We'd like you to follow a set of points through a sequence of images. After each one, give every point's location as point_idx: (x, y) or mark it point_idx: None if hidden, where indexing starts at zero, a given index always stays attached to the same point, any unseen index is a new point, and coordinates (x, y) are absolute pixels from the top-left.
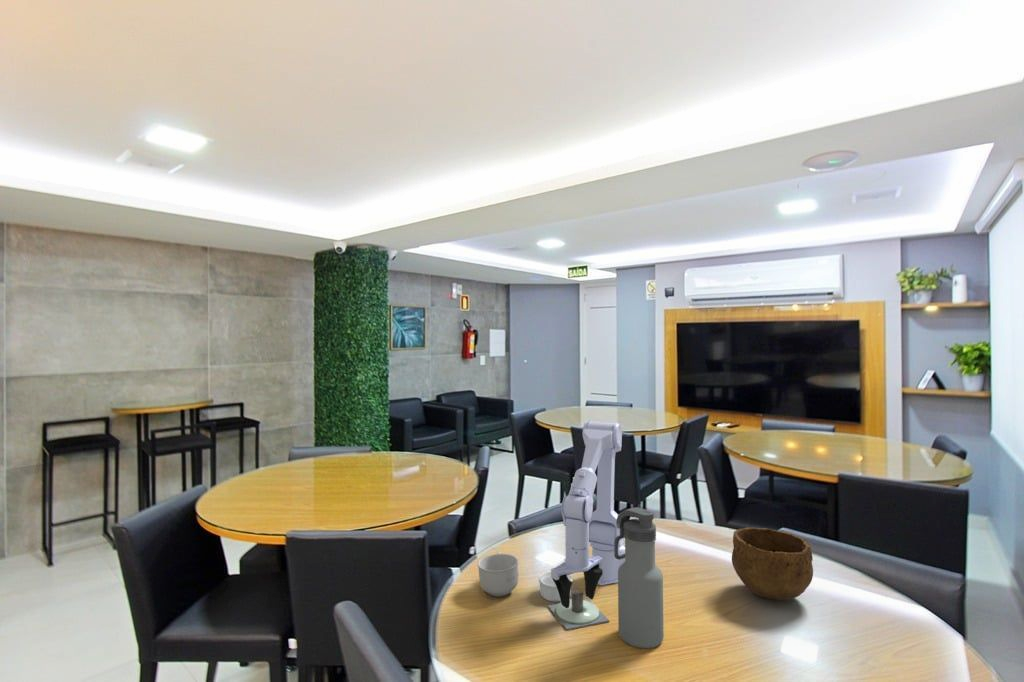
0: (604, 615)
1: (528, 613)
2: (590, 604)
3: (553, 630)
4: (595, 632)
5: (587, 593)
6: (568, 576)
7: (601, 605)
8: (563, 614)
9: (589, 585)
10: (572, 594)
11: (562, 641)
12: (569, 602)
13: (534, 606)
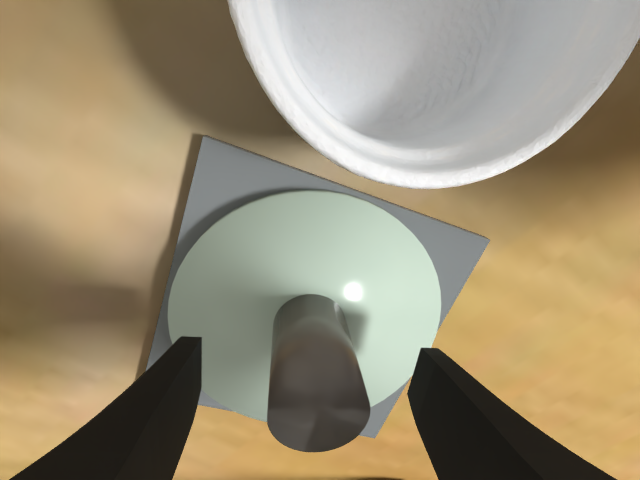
0: (394, 404)
1: (9, 104)
2: (419, 326)
3: (76, 350)
4: (257, 451)
5: (426, 381)
6: (622, 23)
7: (480, 321)
8: (197, 316)
9: (462, 461)
10: (268, 410)
11: (68, 431)
12: (187, 433)
13: (113, 48)
